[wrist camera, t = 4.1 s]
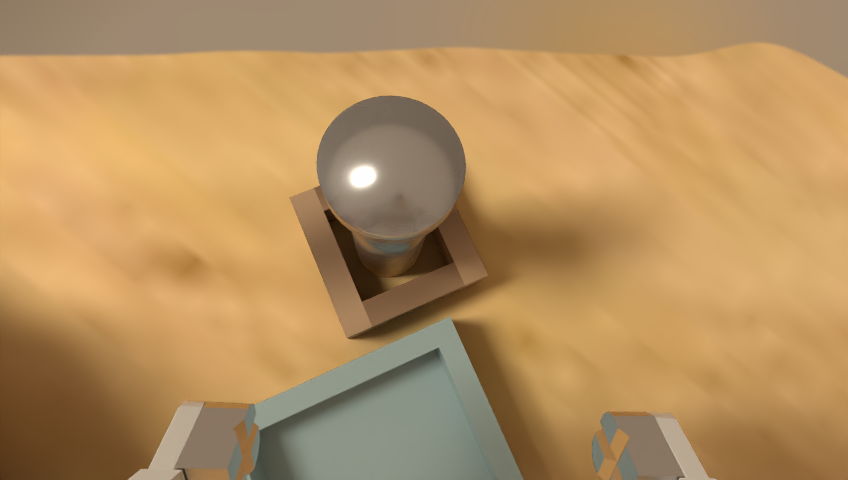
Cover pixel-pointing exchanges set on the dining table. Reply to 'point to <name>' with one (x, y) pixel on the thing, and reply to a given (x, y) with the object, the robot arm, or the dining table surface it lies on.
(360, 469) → the tray
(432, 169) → the pin
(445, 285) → the collar
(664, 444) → the robot arm
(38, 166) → the dining table surface
